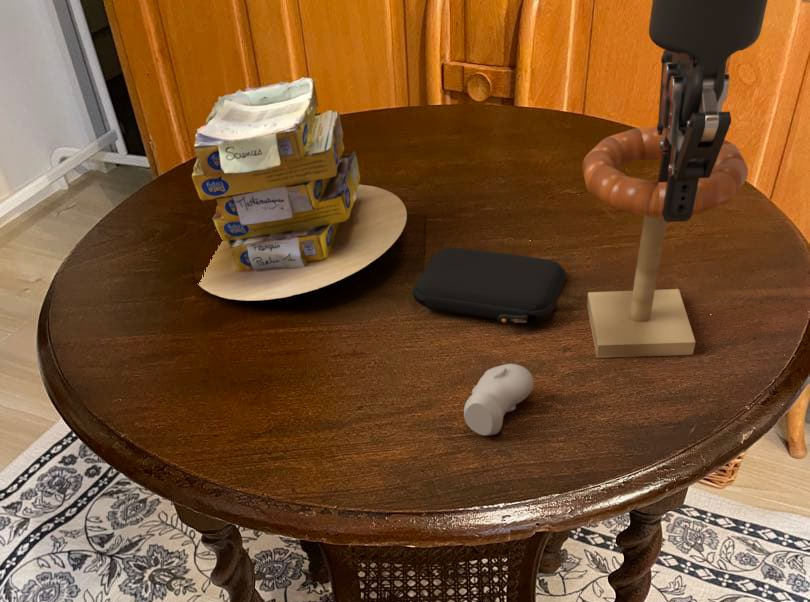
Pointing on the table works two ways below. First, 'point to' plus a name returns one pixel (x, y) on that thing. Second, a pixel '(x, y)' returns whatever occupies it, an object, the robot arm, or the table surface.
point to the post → (641, 309)
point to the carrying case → (491, 285)
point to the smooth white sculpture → (496, 397)
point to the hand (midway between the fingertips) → (672, 208)
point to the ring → (650, 194)
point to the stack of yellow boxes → (286, 196)
